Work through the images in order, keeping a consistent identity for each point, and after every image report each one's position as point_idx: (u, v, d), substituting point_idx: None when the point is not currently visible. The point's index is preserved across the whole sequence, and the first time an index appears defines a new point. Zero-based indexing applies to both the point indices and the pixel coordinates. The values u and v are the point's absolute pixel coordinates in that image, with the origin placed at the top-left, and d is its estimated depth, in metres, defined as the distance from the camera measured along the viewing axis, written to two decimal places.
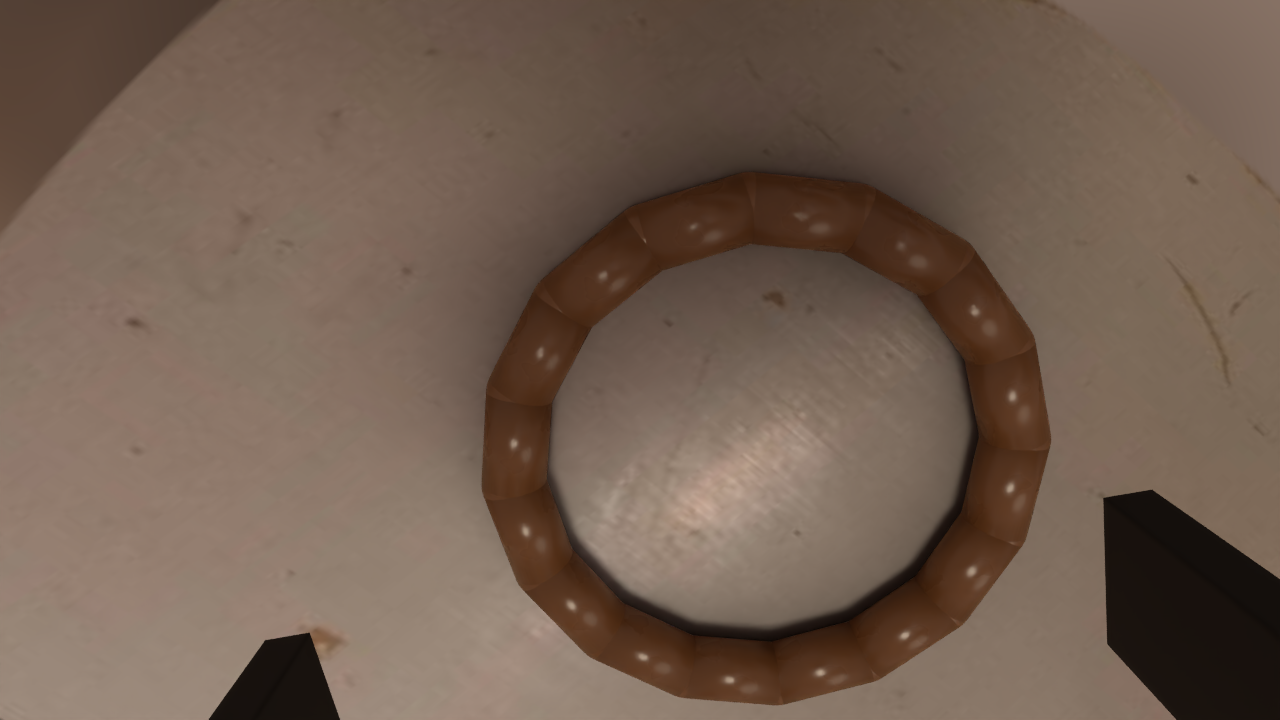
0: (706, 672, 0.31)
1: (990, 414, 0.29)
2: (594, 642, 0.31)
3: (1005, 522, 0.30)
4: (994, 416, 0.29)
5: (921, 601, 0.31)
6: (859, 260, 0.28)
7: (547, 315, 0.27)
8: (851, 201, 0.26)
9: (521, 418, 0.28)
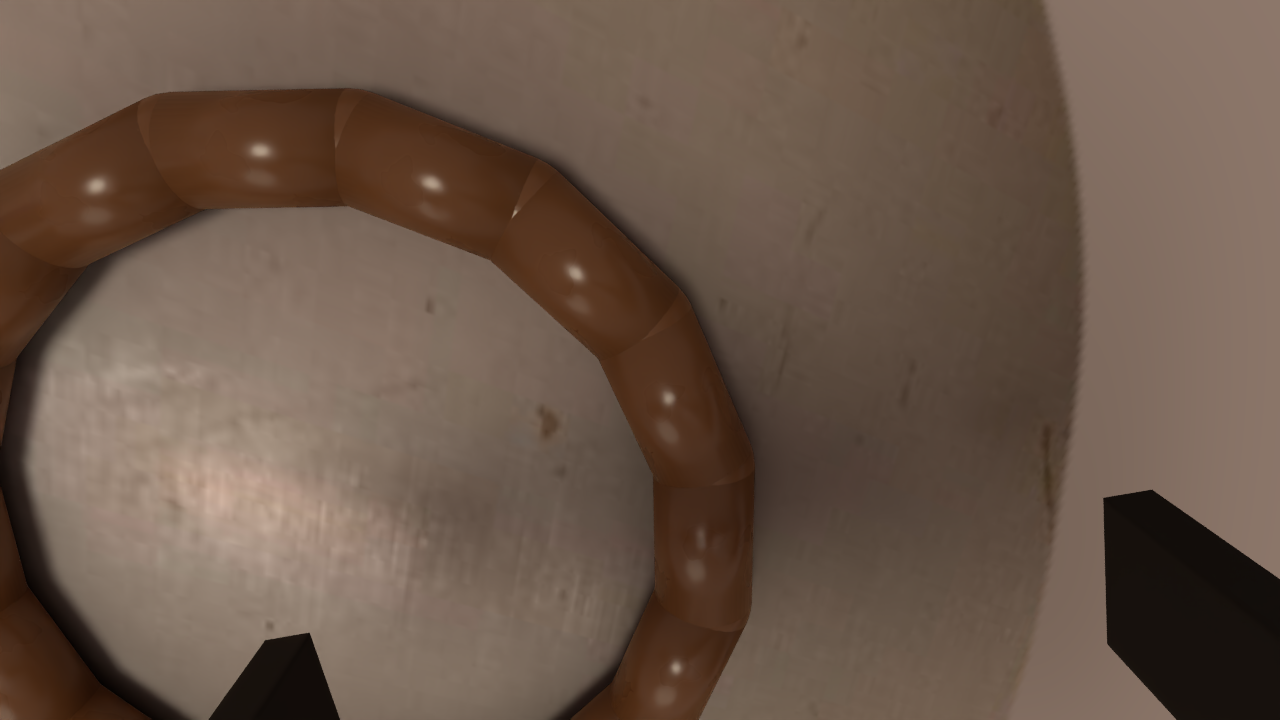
0: None
1: None
2: None
3: None
4: None
5: None
6: (656, 503, 0.19)
7: (316, 129, 0.16)
8: (724, 452, 0.18)
9: (134, 177, 0.16)
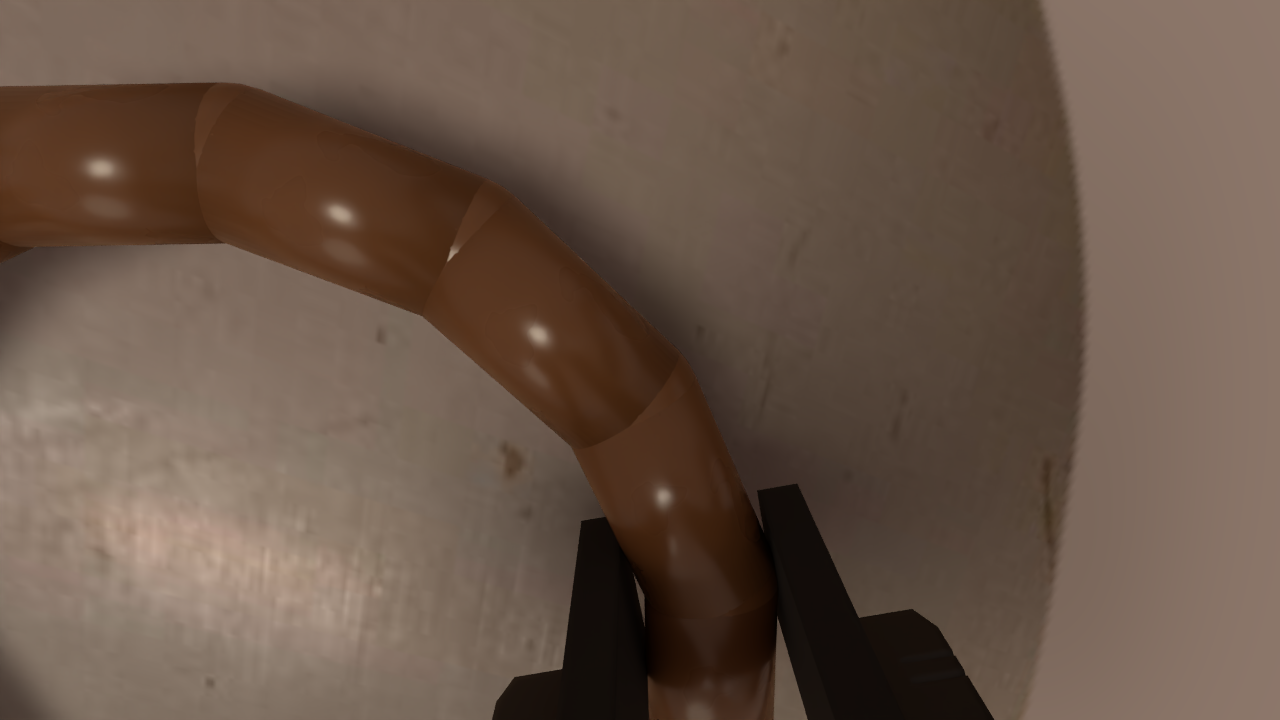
0: None
1: None
2: None
3: None
4: None
5: None
6: (649, 631, 0.14)
7: (170, 139, 0.11)
8: (739, 571, 0.13)
9: None
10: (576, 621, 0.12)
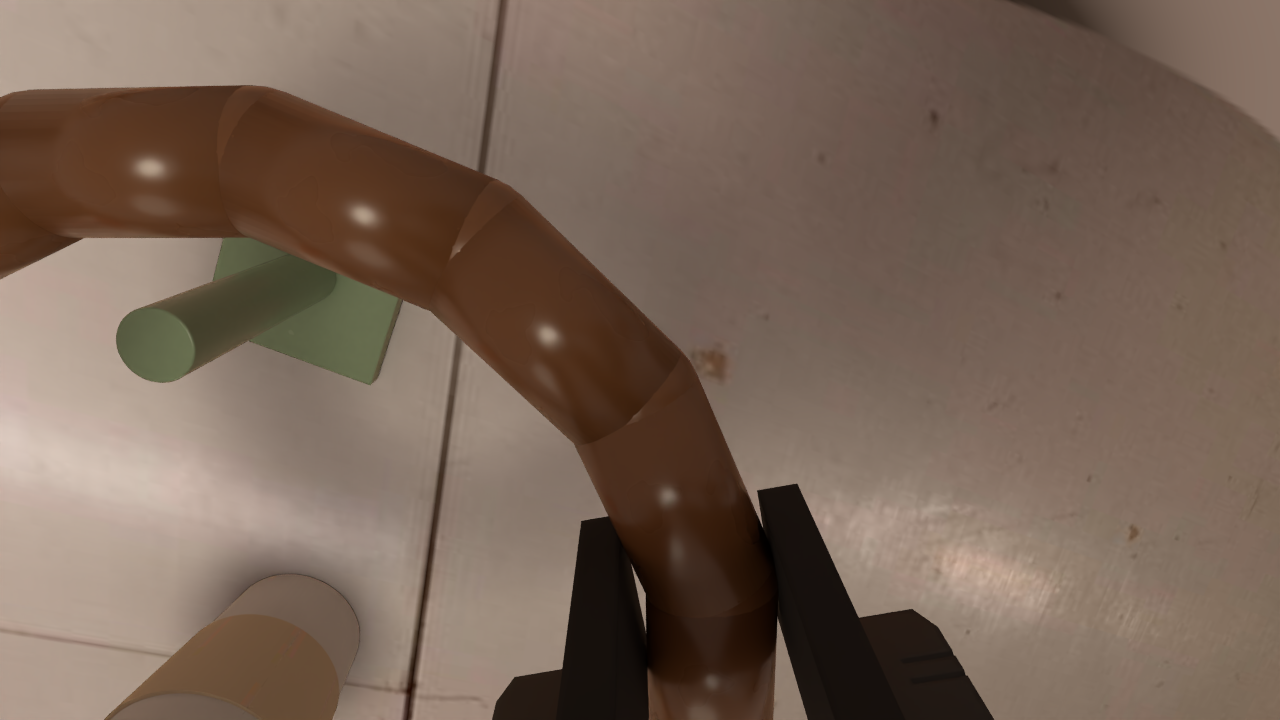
0: None
1: None
2: None
3: None
4: None
5: None
6: (648, 626, 0.15)
7: (195, 140, 0.12)
8: (735, 573, 0.13)
9: None
10: (576, 621, 0.12)
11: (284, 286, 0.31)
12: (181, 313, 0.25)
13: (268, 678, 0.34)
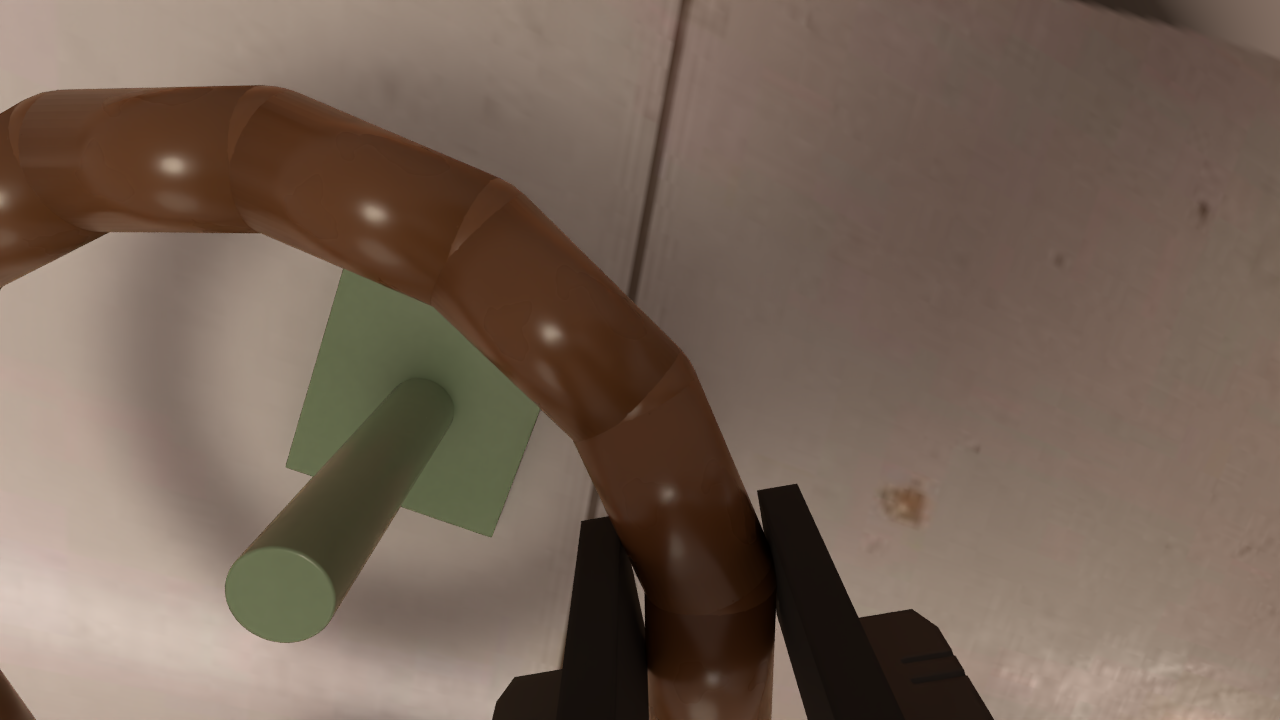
0: None
1: None
2: None
3: None
4: None
5: None
6: (646, 621, 0.15)
7: (208, 139, 0.12)
8: (730, 572, 0.13)
9: (7, 195, 0.13)
10: (576, 621, 0.12)
11: (412, 451, 0.24)
12: (316, 548, 0.18)
13: None
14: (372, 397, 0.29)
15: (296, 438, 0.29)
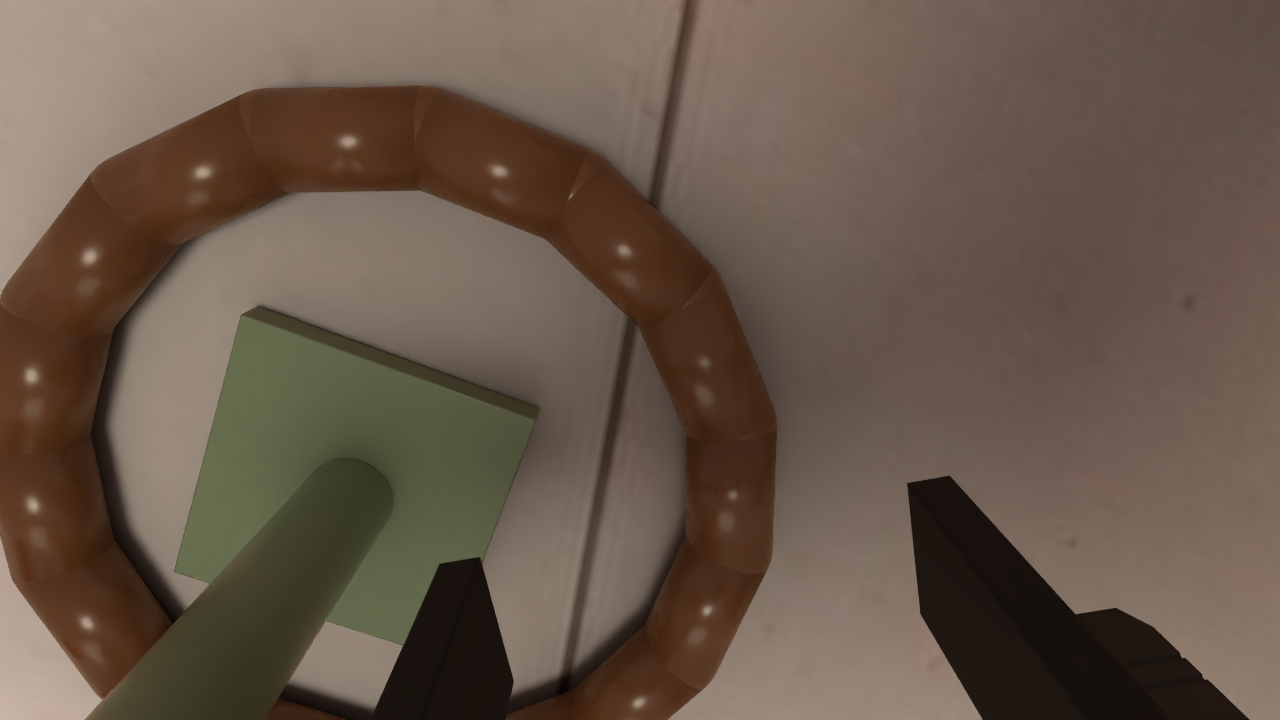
0: (70, 592, 0.21)
1: (602, 694, 0.23)
2: None
3: None
4: (603, 699, 0.23)
5: None
6: (689, 458, 0.21)
7: (398, 121, 0.18)
8: (751, 410, 0.20)
9: (236, 163, 0.18)
10: (395, 680, 0.11)
11: (316, 584, 0.17)
12: None
13: None
14: (285, 483, 0.22)
15: (186, 535, 0.22)
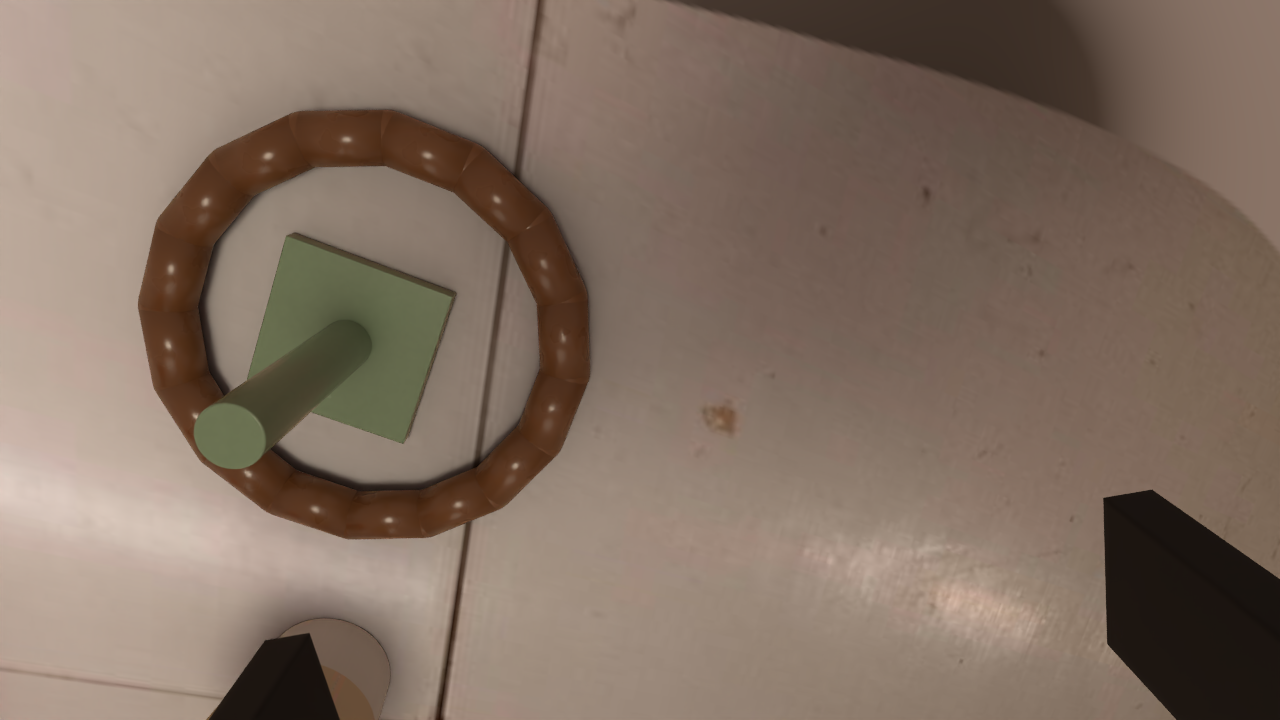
0: (188, 394, 0.38)
1: (494, 460, 0.39)
2: (152, 300, 0.36)
3: (431, 515, 0.40)
4: (494, 463, 0.39)
5: (344, 502, 0.40)
6: (538, 317, 0.38)
7: (372, 129, 0.34)
8: (568, 287, 0.37)
9: (287, 150, 0.35)
10: None
11: (331, 364, 0.33)
12: (253, 406, 0.27)
13: None
14: (309, 334, 0.38)
15: (252, 366, 0.39)
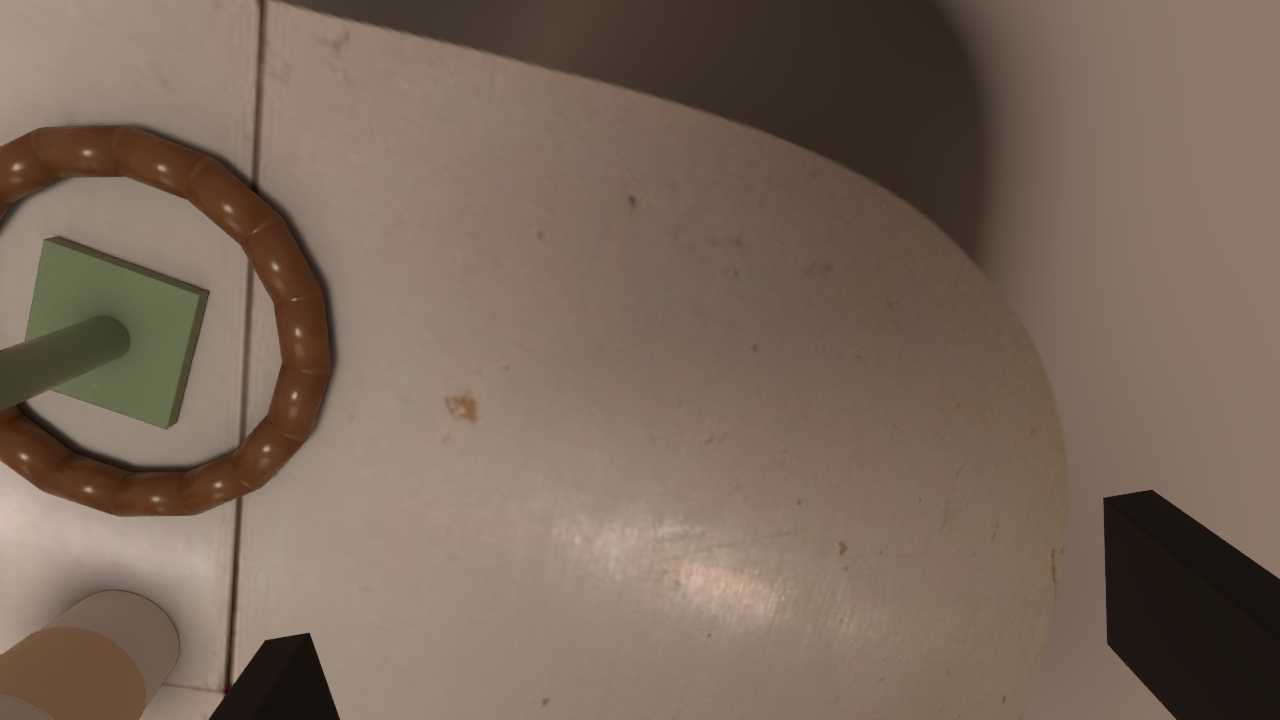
0: None
1: (245, 444, 0.43)
2: None
3: (190, 494, 0.43)
4: (245, 447, 0.43)
5: (112, 482, 0.44)
6: (275, 313, 0.41)
7: (104, 143, 0.38)
8: (297, 286, 0.40)
9: (29, 163, 0.38)
10: None
11: (58, 355, 0.37)
12: None
13: (64, 681, 0.40)
14: None
15: None
